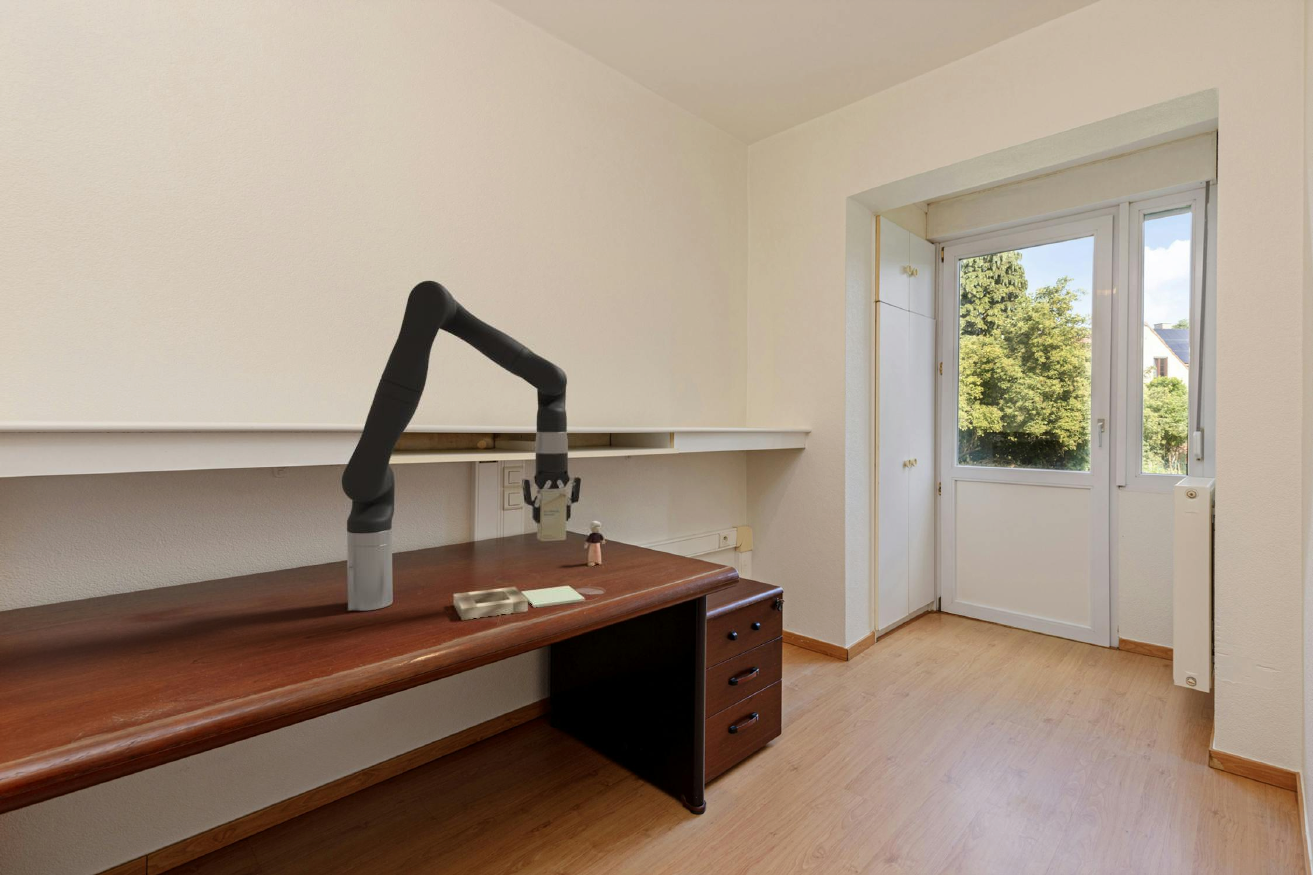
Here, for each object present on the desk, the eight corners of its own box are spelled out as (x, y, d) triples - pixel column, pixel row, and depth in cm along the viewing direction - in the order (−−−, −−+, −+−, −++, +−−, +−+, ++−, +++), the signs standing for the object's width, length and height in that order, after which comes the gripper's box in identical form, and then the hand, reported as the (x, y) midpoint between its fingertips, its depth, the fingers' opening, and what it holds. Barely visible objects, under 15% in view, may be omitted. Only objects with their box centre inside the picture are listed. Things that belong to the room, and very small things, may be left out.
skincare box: (540, 541, 144) (540, 489, 144) (536, 538, 148) (536, 487, 148) (567, 539, 147) (567, 488, 146) (562, 536, 151) (562, 486, 150)
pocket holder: (462, 620, 131) (462, 608, 131) (453, 604, 142) (453, 594, 142) (527, 611, 137) (527, 600, 137) (514, 597, 148) (514, 586, 148)
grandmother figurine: (592, 567, 177) (592, 523, 177) (582, 565, 179) (581, 521, 179) (608, 562, 184) (608, 519, 183) (598, 560, 186) (598, 518, 185)
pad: (534, 607, 140) (534, 605, 140) (521, 593, 151) (521, 591, 151) (584, 600, 145) (584, 598, 145) (568, 588, 156) (568, 585, 156)
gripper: (525, 452, 140) (525, 526, 141) (586, 451, 147) (585, 522, 147) (517, 450, 147) (517, 521, 148) (575, 449, 153) (575, 517, 154)
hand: (551, 521), depth 147 cm, fingers closed on skincare box, 6 cm apart
